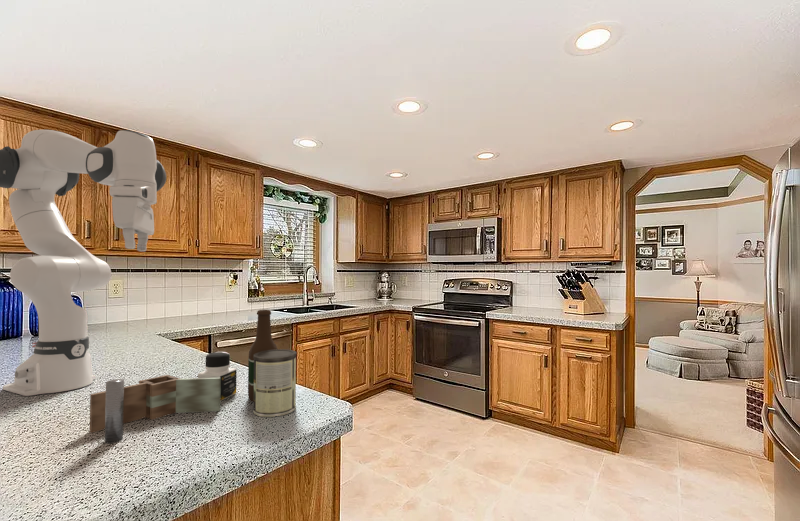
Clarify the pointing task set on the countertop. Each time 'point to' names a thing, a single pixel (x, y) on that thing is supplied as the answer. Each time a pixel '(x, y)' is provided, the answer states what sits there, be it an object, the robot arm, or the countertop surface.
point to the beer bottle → (259, 346)
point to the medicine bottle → (221, 372)
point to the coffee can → (274, 382)
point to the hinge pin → (114, 410)
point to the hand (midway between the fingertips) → (136, 250)
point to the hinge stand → (160, 399)
